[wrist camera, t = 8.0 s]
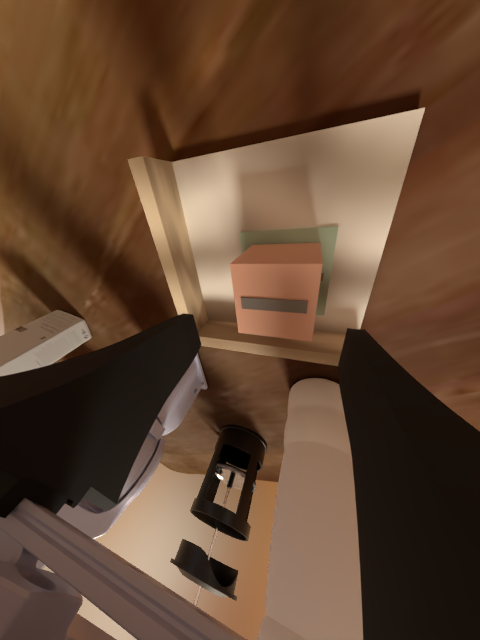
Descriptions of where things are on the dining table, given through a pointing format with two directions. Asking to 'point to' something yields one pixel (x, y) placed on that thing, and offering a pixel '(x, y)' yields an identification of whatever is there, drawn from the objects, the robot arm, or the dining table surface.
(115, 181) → the dining table surface
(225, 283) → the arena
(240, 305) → the terracotta cube
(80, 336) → the skincare box
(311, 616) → the milk bottle
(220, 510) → the french press
